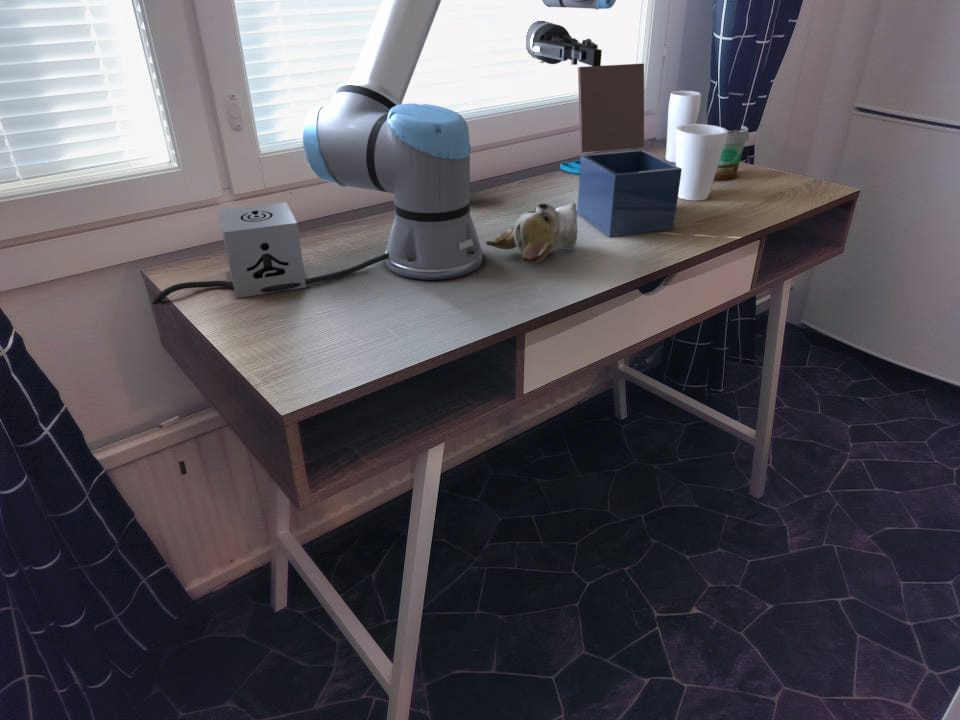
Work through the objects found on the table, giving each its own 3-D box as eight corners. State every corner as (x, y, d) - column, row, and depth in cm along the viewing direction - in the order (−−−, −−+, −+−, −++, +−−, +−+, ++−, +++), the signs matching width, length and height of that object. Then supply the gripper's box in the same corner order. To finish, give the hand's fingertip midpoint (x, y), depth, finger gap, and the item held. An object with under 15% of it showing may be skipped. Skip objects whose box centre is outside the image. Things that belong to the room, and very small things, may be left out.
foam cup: (721, 203, 139) (733, 135, 133) (673, 203, 139) (683, 135, 133) (709, 188, 147) (719, 124, 141) (664, 188, 148) (672, 123, 141)
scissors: (580, 159, 163) (642, 181, 149) (580, 163, 164) (642, 185, 149) (557, 163, 160) (619, 186, 146) (557, 167, 161) (618, 191, 146)
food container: (706, 184, 150) (714, 136, 145) (689, 176, 155) (696, 129, 150) (754, 178, 154) (763, 130, 149) (735, 171, 159) (744, 124, 154)
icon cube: (229, 272, 111) (217, 210, 106) (294, 263, 114) (286, 202, 109) (236, 298, 103) (223, 232, 98) (306, 287, 106) (297, 222, 101)
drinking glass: (689, 157, 169) (698, 90, 161) (693, 165, 163) (704, 96, 155) (660, 156, 169) (668, 90, 162) (663, 164, 163) (672, 95, 156)
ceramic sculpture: (597, 201, 112) (523, 226, 105) (596, 252, 117) (524, 279, 110) (553, 185, 120) (481, 207, 113) (553, 234, 124) (484, 258, 117)
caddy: (673, 229, 127) (682, 168, 121) (609, 237, 124) (615, 175, 118) (636, 205, 138) (642, 149, 133) (576, 212, 135) (580, 155, 129)
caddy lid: (644, 63, 127) (641, 63, 128) (579, 66, 124) (577, 67, 125) (644, 147, 132) (642, 147, 133) (582, 152, 129) (580, 152, 129)
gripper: (575, 60, 154) (627, 77, 134) (518, 63, 150) (563, 81, 131) (577, 22, 150) (631, 34, 130) (519, 24, 146) (565, 37, 127)
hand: (597, 58), depth 131 cm, fingers closed
